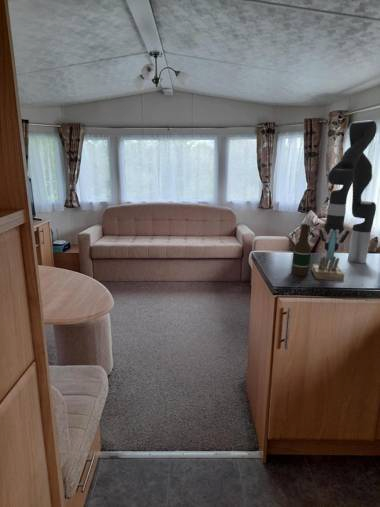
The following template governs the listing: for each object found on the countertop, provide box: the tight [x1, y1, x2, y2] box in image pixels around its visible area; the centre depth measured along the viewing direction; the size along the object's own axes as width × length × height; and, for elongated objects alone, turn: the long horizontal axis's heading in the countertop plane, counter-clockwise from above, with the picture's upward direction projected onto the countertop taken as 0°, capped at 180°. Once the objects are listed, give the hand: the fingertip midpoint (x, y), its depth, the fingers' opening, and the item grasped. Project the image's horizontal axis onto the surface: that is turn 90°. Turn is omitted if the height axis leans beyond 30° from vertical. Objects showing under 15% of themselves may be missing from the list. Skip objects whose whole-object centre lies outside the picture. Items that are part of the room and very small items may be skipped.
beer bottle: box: [291, 223, 312, 277], centre depth 160 cm, size 8×8×24 cm
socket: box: [311, 255, 345, 282], centre depth 161 cm, size 14×12×9 cm
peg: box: [325, 230, 336, 261], centre depth 157 cm, size 3×3×14 cm
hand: (330, 250), depth 158 cm, fingers closed on peg, 3 cm apart
